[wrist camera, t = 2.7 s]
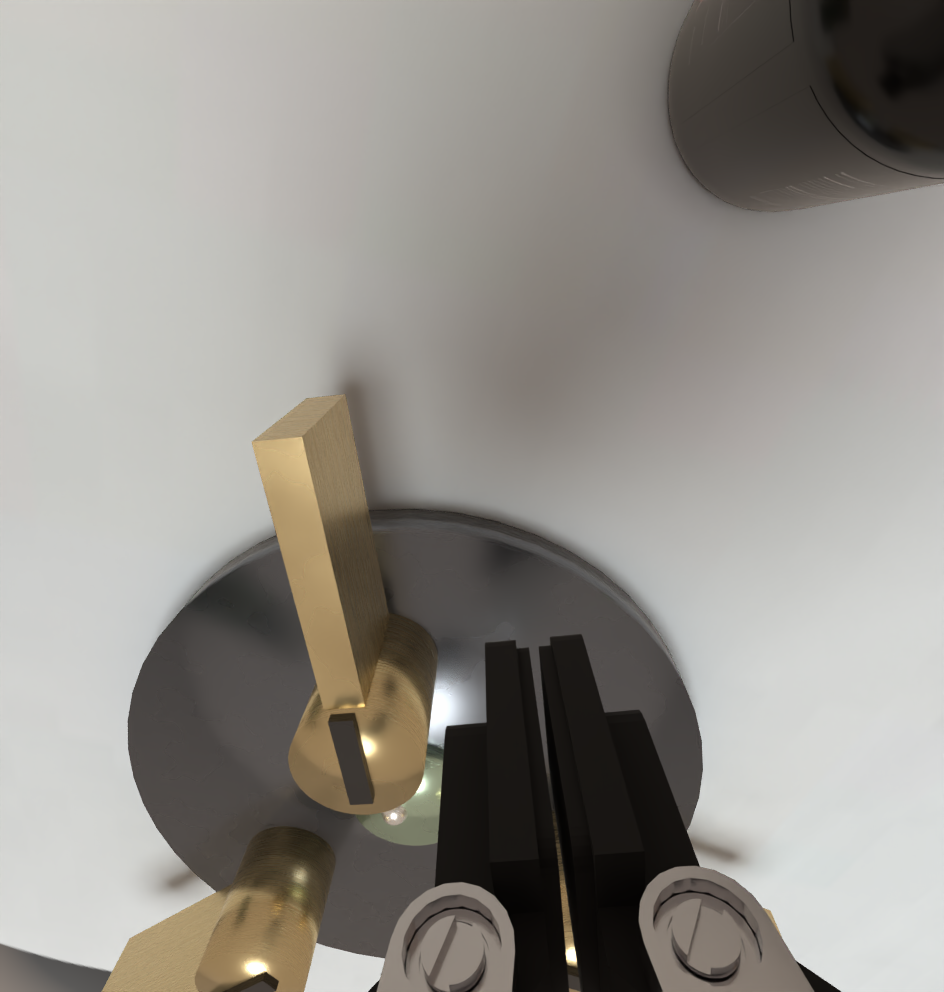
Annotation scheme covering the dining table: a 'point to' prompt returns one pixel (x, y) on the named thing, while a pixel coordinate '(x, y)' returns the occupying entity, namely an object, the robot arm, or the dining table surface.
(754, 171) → the supplement bottle
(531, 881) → the robot arm
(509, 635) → the plate
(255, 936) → the knob
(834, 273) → the dining table surface
